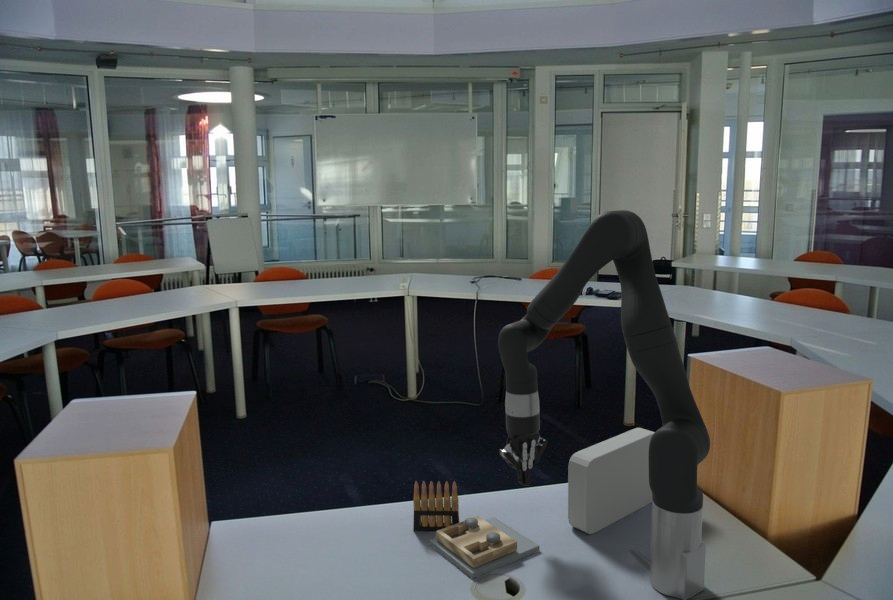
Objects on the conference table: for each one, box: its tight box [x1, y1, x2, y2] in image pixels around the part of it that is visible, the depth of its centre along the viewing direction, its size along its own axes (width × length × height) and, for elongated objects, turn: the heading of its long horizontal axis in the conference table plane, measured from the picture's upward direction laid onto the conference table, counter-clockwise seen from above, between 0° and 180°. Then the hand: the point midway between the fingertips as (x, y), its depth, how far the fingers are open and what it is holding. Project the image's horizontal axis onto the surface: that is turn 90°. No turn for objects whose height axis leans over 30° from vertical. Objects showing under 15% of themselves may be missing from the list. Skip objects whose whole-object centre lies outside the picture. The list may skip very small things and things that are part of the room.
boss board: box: [429, 516, 540, 579], centre depth 146 cm, size 16×18×5 cm
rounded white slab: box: [567, 427, 656, 535], centre depth 160 cm, size 29×8×18 cm, turn 129°
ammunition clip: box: [412, 480, 460, 533], centre depth 154 cm, size 11×2×12 cm, turn 86°
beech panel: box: [435, 515, 517, 568], centre depth 144 cm, size 14×12×2 cm
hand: (524, 484), depth 150 cm, fingers closed
